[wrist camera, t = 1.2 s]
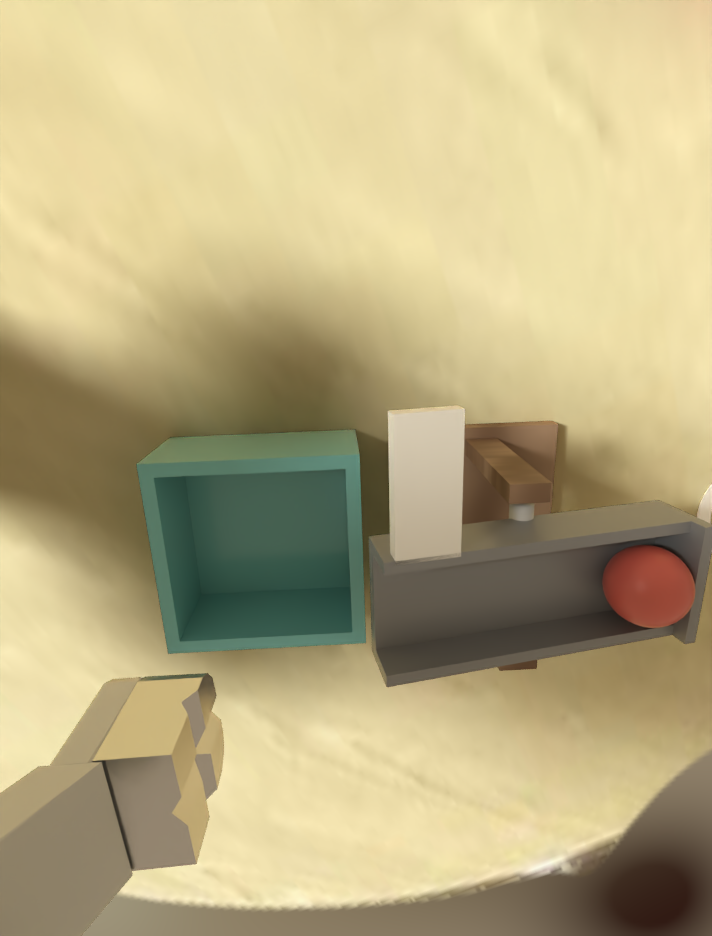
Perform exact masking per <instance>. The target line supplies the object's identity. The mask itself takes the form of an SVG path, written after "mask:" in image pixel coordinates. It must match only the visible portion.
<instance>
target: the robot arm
mask: <svg viewBox="0 0 712 936" xmlns="http://www.w3.org/2000/svg"><path fill="white" fill-rule="evenodd" d="M215 699H216V692H215V687H214V683H213V679H212V677H211V676H210V675H209V674H208V673H205V674H187V675H169V676H150V677H144V678H141V677H137V678H123V679H112V680H110V681H108V682H106V683H105V684H104V685H103V686H102V688H101V689H100V691H99V692H98V694H97V695H96V697H95V698H94V700H93V701H92V703H91V704H90V706H89V707H88V709H87V710H86V712H85V713H84V715H83V716H82V718H81V719H80V721H79V722H78V724H77V725H76V727H75V728H74V730H73V731H72V733H71V734H70V736H69V737H68V739H67V740H66V742H65V743H64V745H63V746H62V748H61V749H60V751H59V752H58V754H57V755H56V757H55V758H54V760H53V761H52V763H51V764H50V766H40V767H37V768H36V769H34V770H33V771H31V772H30V773H29V774H27V775H26V776H24V777H23V778H21V779H20V780H19V781H17V782H16V783H14V784H13V785H11V786H10V787H8V788H7V789H6V790H4V791H3V792H1V793H0V936H82V935H83V933H84V932H85V931H86V930H87V929H88V928H89V926H90V925H91V924H92V923H93V922H94V920H95V919H96V918H97V917H98V915H99V914H100V913H101V912H102V911H103V910H104V908H105V907H106V906H107V905H108V904H109V903H110V901H111V900H112V899H113V898H114V896H115V895H116V894H117V893H118V892H119V891H120V889H121V888H122V887H123V886H124V885H125V883H126V882H127V881H128V880H129V879H130V878H131V876H132V871H136V870H145V869H154V868H164V867H173V866H183V865H192V864H197V860H198V857H199V853H200V849H201V846H202V842H203V839H204V835H205V832H206V828H207V824H208V821H209V811H208V806H207V801H206V800H207V799H208V797H209V796H210V795H211V794H212V793H213V792H214V791H215V790H216V789H217V788H218V784H219V780H220V776H221V772H222V765H223V755H224V737H223V729H222V723H221V719H219V718H218V717H217V716H216V715H215V714H214V713H213V712H212V708H213V705H214V702H215Z"/></svg>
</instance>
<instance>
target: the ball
mask: <svg viewBox="0 0 712 936" xmlns="http://www.w3.org/2000/svg"><path fill="white" fill-rule="evenodd" d="M602 585H603V591H604V594H605V597H606V599H607V601H608V603H609V604H610V606H611V607H612V608H613V610H614V611H615V612H616V613H617V614H618V615H620V616H621V617H622V618H624V619H625V620H627V621H629V622H631V623H633V624H635V625H638V626H642V627H648V628H660V627H665V626H669V625H671V624H674V623H676V622H678V621H679V620H681V619H682V618H683V617H684V616H685V615H686V614H687V613H688V612H689V610H690V609H691V607H692V605H693V602H694V598H695V583H694V580H693V576H692V574H691V572H690V570H689V569H688V567H687V566H686V565H685V563H684V562H683V561H682V560H681V559H680V558H679V557H677V556H676V555H675V554H673V553H671V552H670V551H668V550H666V549H663V548H660V547H657V546H652V545H635V546H631V547H628V548H625V549H623V550H621V551H620V552H618V553H617V554H615V555H614V556H613V557H612V558H611V559H610V561H609V562H608V563H607V565H606V567H605V570H604V573H603V579H602Z"/></svg>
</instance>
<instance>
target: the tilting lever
mask: <svg viewBox="0 0 712 936" xmlns="http://www.w3.org/2000/svg"><path fill="white" fill-rule="evenodd" d="M464 429H465V408H462V407H460V406H458V405H455V406H442V407H429V408H416V409H403V410H390V411H388V447H389V507H390V534H383V535H375V536H369V563H370V596H371V629H372V651H373V654H374V656H375V659H376V661H377V664H378V666H379V669H380V671H381V674H382V677H383V679H384V682H385V684H386V687H391V686H396V685H402V684H407V683H412V682H418V681H423V680H429V679H434V678H440V677H445V676H451V675H456V674H462V673H467V672H472V671H478V670H483V669H489V668H494V667H500V666H505V665H511V664H516V663H521V662H527V661H532V660H538V659H543V658H549V657H554V656H560V655H565V654H570V653H576V652H581V651H587V650H592V649H598V648H603V647H609V646H614V645H619V644H625V643H630V642H636V641H641V640H647V639H652V638H658V637H663V636H669V635H673V636H675V637H676V638H677V639H679V640H680V641H681V642H683V643H684V644H688V643H693V642H695V638H696V633H697V628H698V622H699V617H700V612H701V606H702V601H703V596H704V590H705V585H706V579H707V574H708V569H709V563H710V558H711V553H712V524H710V523H708V522H706V521H704V520H702V519H699V518H697V517H695V516H693V515H691V514H688V513H686V512H684V511H682V510H680V509H677V508H675V507H673V506H671V505H668V504H666V503H664V502H662V501H660V500H655V501H647V502H639V503H631V504H623V505H615V506H607V507H599V508H591V509H583V510H575V511H567V512H559V513H551V514H543V515H535V516H534V505H535V504H534V503H525V504H510V505H509V519H503V520H495V521H487V522H479V523H471V524H463V525H462V501H463V465H464ZM635 545H652V546H657V547H660V548H663V549H666V550H668V551H670V552H671V553H673V554H675V555H676V556H677V557H679V558H680V559H681V560H682V561H683V562H684V563H685V565H686V566H687V567H688V569H689V570H690V572H691V574H692V576H693V580H694V583H695V598H694V602H693V605H692V607H691V609H690V610H689V612H688V613H687V614H686V615H685V616H684V617H683V618H682V619H681V620H679V621H678V622H676V623H674V624H671V625H669V626H665V627H660V628H648V627H642V626H638V625H635V624H633V623H631V622H629V621H627V620H625V619H624V618H622V617H621V616H620V615H618V614H617V613H616V612H615V611H614V610H613V608H612V607H611V606H610V604H609V603H608V601H607V599H606V597H605V594H604V591H603V585H602V579H603V573H604V570H605V567H606V565H607V563H608V562H609V561H610V559H611V558H612V557H613V556H614V555H615V554H617V553H618V552H620V551H621V550H623V549H625V548H628V547H631V546H635Z"/></svg>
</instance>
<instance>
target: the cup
mask: <svg viewBox="0 0 712 936" xmlns="http://www.w3.org/2000/svg"><path fill="white" fill-rule="evenodd" d="M136 465H137V471H138V477H139V483H140V489H141V495H142V501H143V507H144V513H145V519H146V525H147V530H148V536H149V542H150V548H151V554H152V560H153V566H154V572H155V578H156V584H157V590H158V596H159V602H160V608H161V614H162V620H163V626H164V632H165V637H166V643H167V649H168V654H171V653H190V652H208V651H226V650H245V649H263V648H282V647H300V646H318V645H337V644H355V643H366V629H365V600H364V571H363V541H362V512H361V483H360V454H359V448H358V442H357V436H356V430H355V429H352V430H329V431H306V432H282V433H259V434H236V435H213V436H190V437H170V438H169V439H167V440H166V441H165V442H164V443H162V444H161V445H160V446H159V447H157V448H156V449H155V450H154V451H152V452H151V453H150V454H149V455H147V456H146V457H145V458H144V459H142V460H141V461H140V462H139V463H137V464H136Z"/></svg>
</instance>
